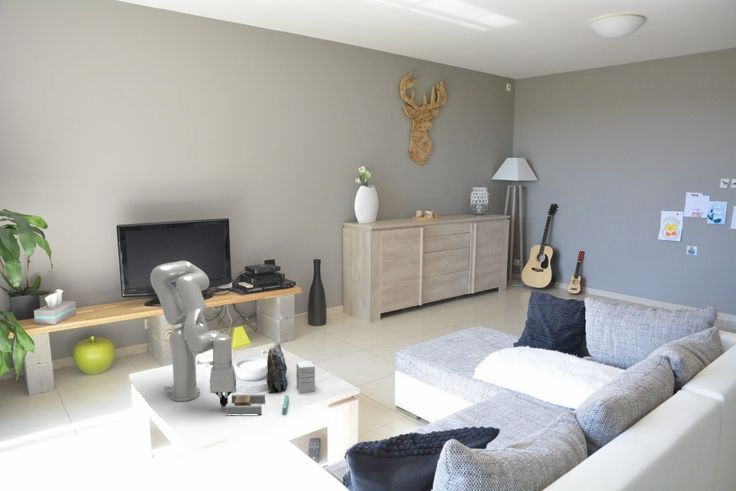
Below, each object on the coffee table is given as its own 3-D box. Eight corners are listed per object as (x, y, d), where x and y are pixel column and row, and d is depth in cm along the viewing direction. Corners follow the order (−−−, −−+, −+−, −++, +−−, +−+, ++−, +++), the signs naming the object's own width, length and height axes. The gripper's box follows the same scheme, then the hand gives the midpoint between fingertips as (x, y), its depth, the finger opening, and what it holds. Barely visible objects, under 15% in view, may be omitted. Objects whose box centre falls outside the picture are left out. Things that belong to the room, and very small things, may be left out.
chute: (226, 415, 213) (226, 407, 213) (232, 402, 225) (232, 394, 224) (261, 415, 214) (261, 407, 214) (264, 401, 226) (264, 394, 225)
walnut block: (234, 412, 216) (234, 402, 215) (236, 405, 222) (236, 396, 221) (249, 412, 217) (249, 402, 216) (250, 405, 223) (250, 395, 222)
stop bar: (282, 414, 215) (282, 408, 214) (285, 401, 226) (285, 395, 226) (286, 414, 215) (285, 408, 214) (288, 401, 227) (288, 395, 226)
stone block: (285, 393, 234) (285, 351, 231) (265, 393, 234) (265, 351, 231) (289, 377, 252) (289, 338, 249) (271, 377, 252) (271, 338, 249)
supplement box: (296, 387, 241) (296, 361, 239) (311, 385, 243) (311, 360, 241) (299, 394, 234) (299, 367, 232) (315, 392, 237) (315, 365, 235)
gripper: (202, 367, 212) (203, 410, 214) (239, 367, 213) (240, 409, 215) (206, 361, 219) (208, 401, 222) (242, 360, 220) (243, 401, 223)
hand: (223, 405), depth 219 cm, fingers closed
